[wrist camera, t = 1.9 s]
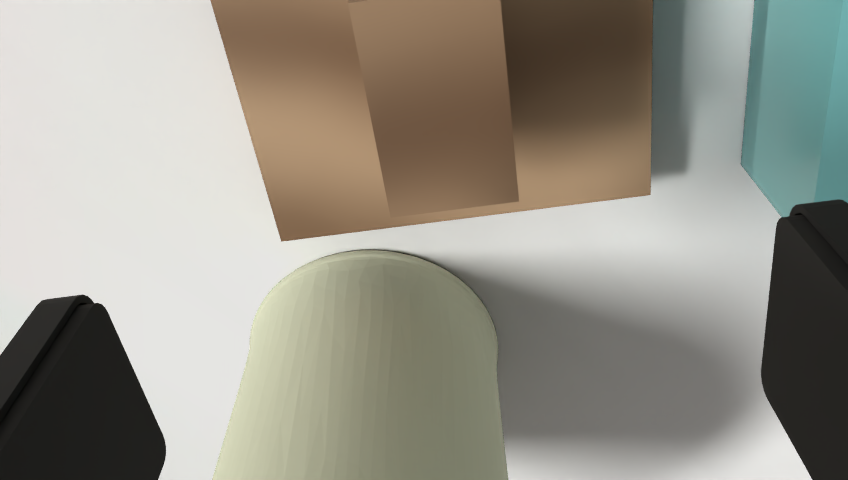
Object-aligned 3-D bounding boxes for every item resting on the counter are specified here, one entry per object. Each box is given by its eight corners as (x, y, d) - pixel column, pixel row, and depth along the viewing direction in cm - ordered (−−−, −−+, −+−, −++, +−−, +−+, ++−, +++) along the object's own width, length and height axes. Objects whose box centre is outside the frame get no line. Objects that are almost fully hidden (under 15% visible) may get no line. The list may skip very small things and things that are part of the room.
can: (291, 213, 25) (201, 516, 15) (539, 295, 27) (607, 615, 17) (224, 401, 30) (122, 730, 20) (441, 461, 32) (448, 790, 22)
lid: (173, -170, 19) (80, -143, 14) (645, -251, 18) (732, -254, 13) (286, 225, 25) (250, 344, 20) (642, 179, 24) (700, 292, 19)
